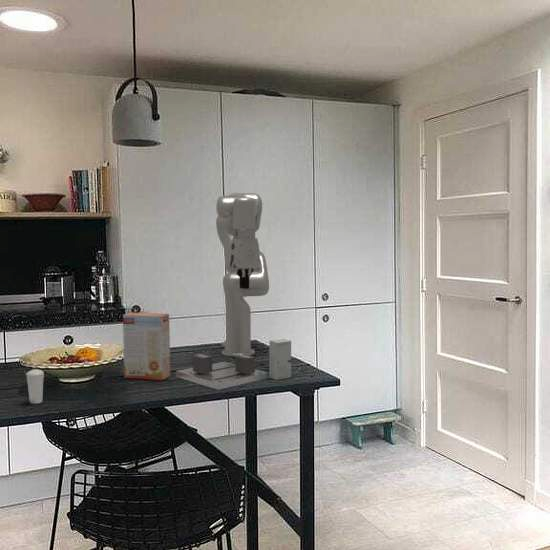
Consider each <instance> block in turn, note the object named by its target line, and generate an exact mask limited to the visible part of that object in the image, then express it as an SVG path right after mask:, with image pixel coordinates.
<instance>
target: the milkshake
mask: <svg viewBox="0 0 550 550" xmlns="http://www.w3.org/2000/svg"><path fill="white" fill-rule="evenodd" d="M24 373H25V376H26V382H27V388H28V390H27V391H28V400H29V403H30V405H31V404H33V405H36V404H37V405H38V404H41V403H43V396H44V395H43V393H44V378H45V377H44V376H45V372H44V371H43V370H41V369H37V368H36V369H31V370H29V371H28V372H26V371H24Z"/></svg>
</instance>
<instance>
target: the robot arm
mask: <svg viewBox="0 0 550 550" xmlns="http://www.w3.org/2000/svg"><path fill="white" fill-rule="evenodd" d="M215 204H216V206H215V207H216V214H217V217H216V221H215V223H216V224H215V226H216V232H217V236H218V238H219V241H220V242H221V244H222V247H223V254H224V256H223V257H224V264H225V265H224V266H225V269H226V272H227V273H226V274H225V275H224V276H223V279H222V286H223V287H222V288H223V293H224V301H225V302H224V303H225V306H224V307H225V340H224V342H221V344H220V345H221V346H222V347H224V349H223V350H221V354H222V355H223V356H226V357H230V358H231V357H234V358H235V356H239V355H249V356H253V355H255V353H256V351H255V349H254V348H251V347H252V346H251V345H252V341H251V340H252V339H251V337H252V335H251V329H252V328H251V325H252V322H251V321H252V319H251V318H252V317H251V311H252V310H251V306H250V305H249V303H248V302H247V301H246V300H245V298H246V297H264V296H267V294H268V293H269V290H270V280H269V273H268V265H267V261H266V256H265V254H264V253H263V252H262V251H260V245H259V241H258V238H256V232H258V231H259V230H260V227H261V226H260V225H261V219H262V212H263V200H262V198H261V196H260V194H258V193H256V192H255V193H254V192H234V193H233V192H232V193H231V194H229V195H222V196H219V197H218V198H217V201H216V203H215Z"/></svg>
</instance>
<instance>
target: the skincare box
mask: <svg viewBox="0 0 550 550" xmlns="http://www.w3.org/2000/svg"><path fill="white" fill-rule="evenodd" d="M268 343H269V346H268V347H269V364H268V365H269V372H268V373H269V378H270V379H272V380H275V381H276V380H277V381H278V380H285V379H290V378H292V341H291V340H290V339H284V338H283V339H273V340H269V342H268Z"/></svg>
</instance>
